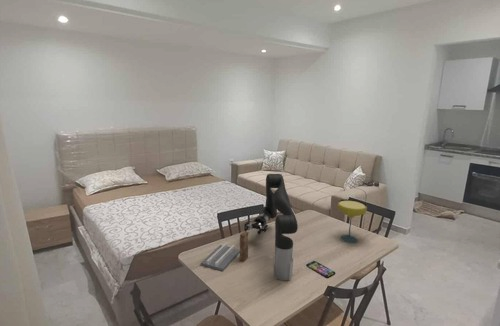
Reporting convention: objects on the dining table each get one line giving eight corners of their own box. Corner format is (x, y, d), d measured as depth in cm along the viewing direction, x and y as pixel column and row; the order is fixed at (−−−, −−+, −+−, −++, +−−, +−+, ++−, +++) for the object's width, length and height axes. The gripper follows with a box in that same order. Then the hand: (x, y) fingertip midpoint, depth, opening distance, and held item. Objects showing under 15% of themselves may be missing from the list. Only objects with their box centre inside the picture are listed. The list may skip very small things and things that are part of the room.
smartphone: (314, 260, 161) (336, 272, 150) (314, 261, 162) (336, 274, 150) (305, 264, 157) (327, 277, 145) (305, 266, 157) (327, 279, 145)
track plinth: (240, 252, 170) (240, 246, 169) (223, 271, 150) (223, 265, 149) (220, 247, 175) (220, 241, 174) (200, 265, 155) (200, 259, 155)
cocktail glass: (368, 239, 188) (372, 204, 183) (354, 248, 176) (358, 211, 171) (343, 230, 201) (346, 197, 196) (329, 238, 189) (332, 203, 184)
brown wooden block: (248, 257, 164) (248, 232, 161) (244, 261, 160) (244, 235, 156) (243, 256, 165) (243, 231, 162) (239, 260, 161) (240, 234, 158)
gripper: (251, 213, 187) (241, 223, 172) (271, 217, 181) (262, 228, 167) (251, 224, 188) (240, 234, 174) (271, 228, 183) (262, 239, 168)
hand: (251, 231), depth 170 cm, fingers open, 8 cm apart
